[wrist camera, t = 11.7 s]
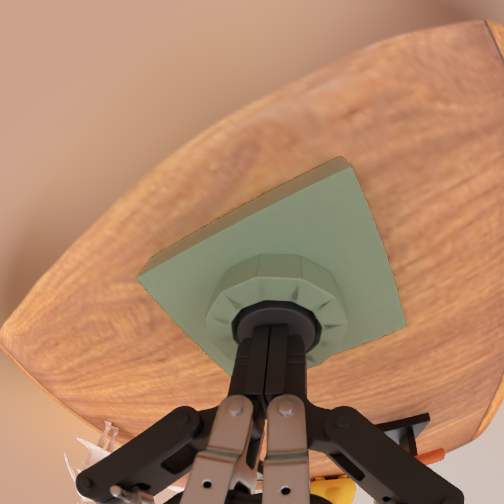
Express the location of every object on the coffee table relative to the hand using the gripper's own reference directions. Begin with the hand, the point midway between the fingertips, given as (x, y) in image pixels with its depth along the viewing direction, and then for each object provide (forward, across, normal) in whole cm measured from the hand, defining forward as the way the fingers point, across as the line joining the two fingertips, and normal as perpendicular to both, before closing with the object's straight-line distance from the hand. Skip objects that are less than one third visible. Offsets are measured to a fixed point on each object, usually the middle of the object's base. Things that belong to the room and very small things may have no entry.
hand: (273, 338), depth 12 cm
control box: (+4, 0, 0) cm, 4 cm away
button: (+2, 0, 0) cm, 2 cm away
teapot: (+4, -5, +56) cm, 57 cm away
